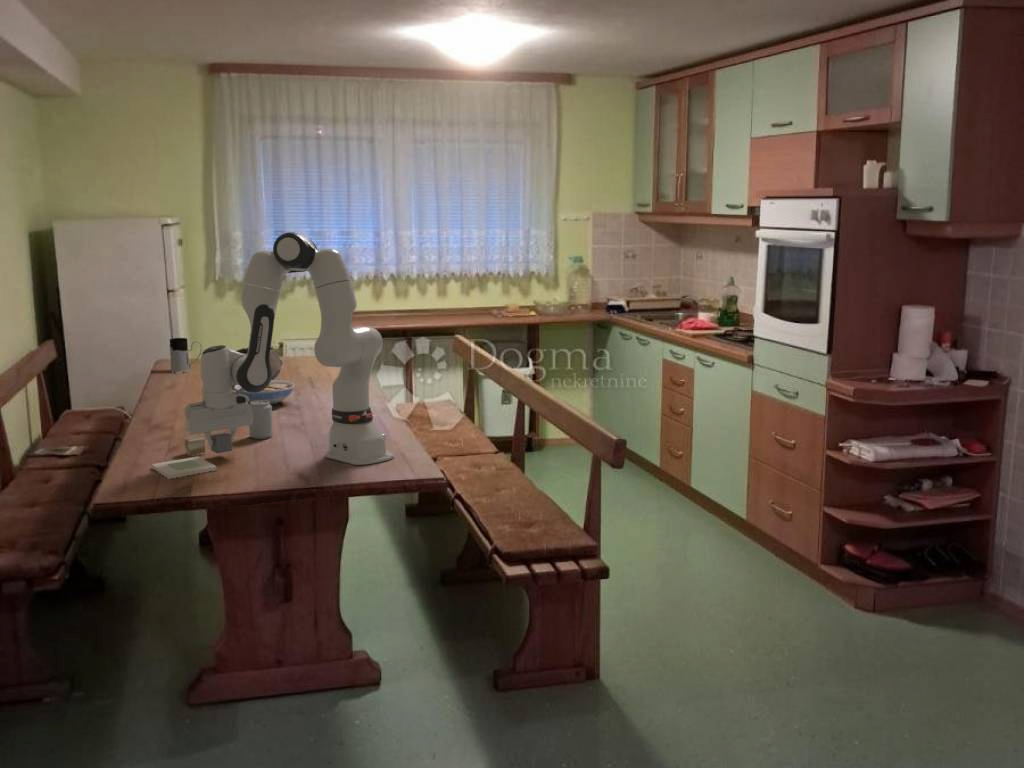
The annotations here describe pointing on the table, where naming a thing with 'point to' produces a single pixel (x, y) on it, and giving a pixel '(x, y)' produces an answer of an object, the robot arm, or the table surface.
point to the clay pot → (274, 361)
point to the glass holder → (180, 355)
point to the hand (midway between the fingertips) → (221, 443)
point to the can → (261, 420)
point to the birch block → (194, 445)
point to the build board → (184, 467)
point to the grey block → (221, 442)
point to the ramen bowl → (269, 392)
